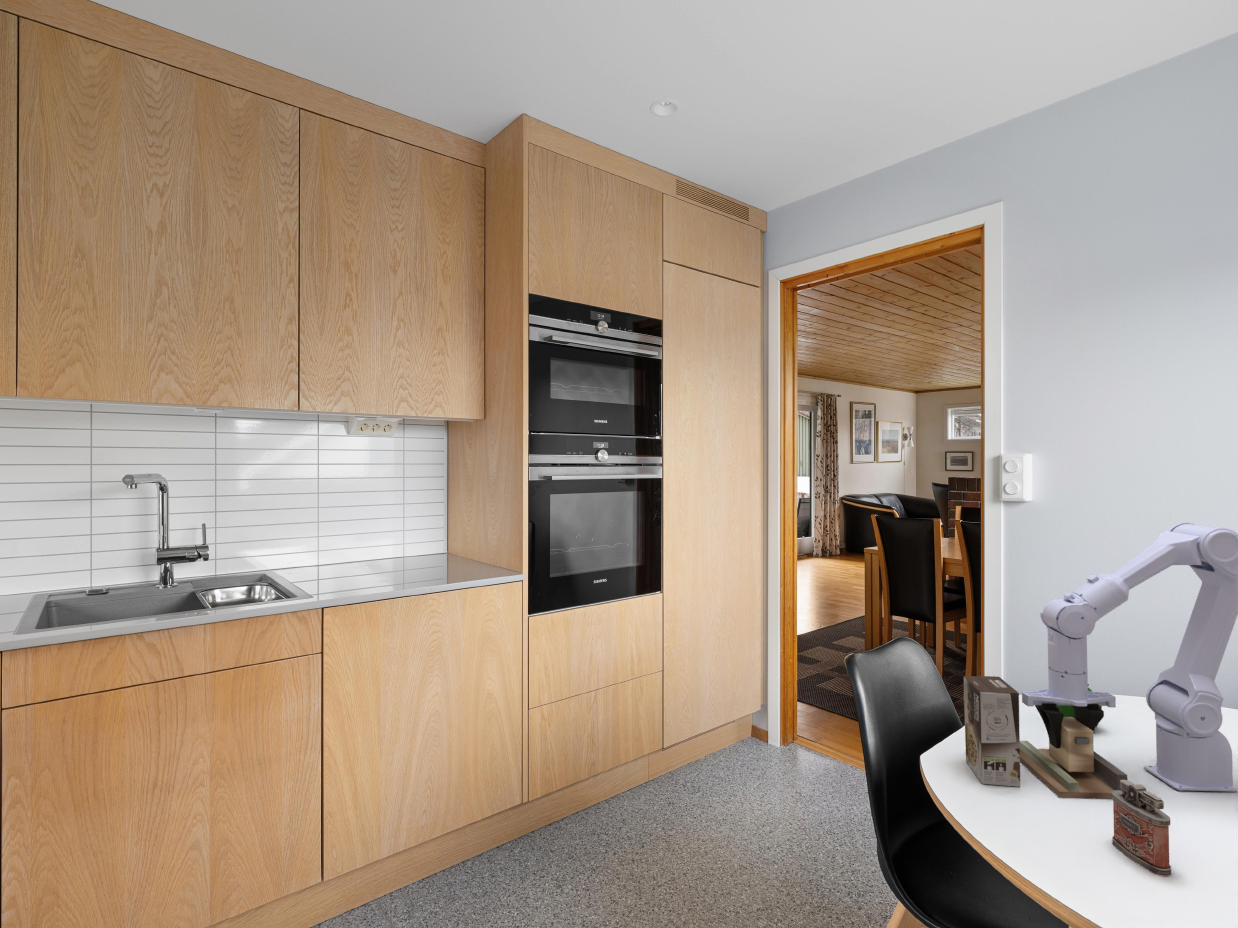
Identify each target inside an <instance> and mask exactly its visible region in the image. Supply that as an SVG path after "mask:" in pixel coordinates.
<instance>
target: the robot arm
mask: <svg viewBox="0 0 1238 928" xmlns="http://www.w3.org/2000/svg"><path fill="white" fill-rule="evenodd" d="M1172 566H1188V567H1190V568H1191V569H1192V571H1193V572H1194V573H1195V575H1196V576H1197V577H1198V578H1199V580H1200V581H1201V585H1200V588H1199V590H1198V594H1197V596H1196V600H1195V603H1194V605H1193V609H1192V611H1191V614H1190V617H1189V620H1188V623H1187V625H1186V629H1185V631H1184V634H1183V636H1182V639H1181V643H1180V645H1179V648H1178V651H1177V655H1176V658H1175V660H1174V663H1173V665H1172V666H1171V667H1169V668H1168V669H1165V670H1163V671H1161V672H1159V675H1158V678H1157V679H1156V681H1155V682H1154V683H1153V684H1152V685H1150V687H1149V688H1148V690H1147V692H1146V695H1145V700H1146V704H1147V706H1148V707H1149V709H1150V710H1151V711H1152V712H1153V713H1154V719H1155V732H1156V733H1155V737H1156V738H1155V739H1156V740H1155V741H1156V742H1155V743H1156V744H1155V745H1156V749H1155V750H1156V751H1155V752H1156V765H1144V766H1143V769H1145V770H1146V771H1148V772H1149V773H1151V775H1153V776H1155V777H1156V778H1158V779H1159V780H1161V781H1162V782H1164V783H1166V784H1167V785H1168V786H1170V788H1172V789H1174V790H1176V791H1191V792H1192V791H1193V792H1194V791H1196V792H1197V791H1199V792H1200V791H1201V792H1202V791H1203V792H1205V791H1206V792H1237V790H1238V788H1237V787H1235V786H1233V785H1234V783H1233V782H1234V781H1233V780H1234V779H1233V777H1234V775H1233V774H1234V773H1233V750H1232V747H1231V744H1230V742H1229V740H1228V738H1227V737H1226V736H1225V735H1224V733H1222V732H1221V731H1220V730H1219V729H1220V728H1221V727H1222V725H1223V713H1222V704H1223V701H1224V697H1223V695H1222V693H1221V691H1220V689H1219V688H1218V686H1217V683H1216V681H1215V680H1216V677H1217V674H1218V672H1219V670H1220V666H1221V663H1222V660H1223V658H1224V655H1225V652H1226V649H1227V646H1228V643H1229V640H1230V637H1231V636H1232V632H1233V629H1234V626H1235V625H1236V621H1237V617H1238V533H1237V532H1236V531H1234V530H1232V529H1230V528H1226V527H1215V526H1214V527H1213V526H1207V525H1200V524H1195V523H1191V522H1180V523H1176V524H1174V525H1173V526H1171V527H1170V528H1169V529H1168V530H1166V531H1164V532H1161V533H1160V534H1158V536H1157V538H1156V540H1155V541H1154V542H1153V543H1152V544H1150V545H1149V546H1147V547H1146V548H1144V549H1143V550H1142V551H1141V552H1140V553H1138V554H1137V555H1135V556H1134V557H1133V558H1132V559H1130V560H1129V561H1128V562H1126V563H1125V564H1123V565H1122V566H1121V567H1120V568H1118V569H1117V570H1115V571H1114V572H1113V573H1111V574H1109V573H1107V574H1106V573H1098V574H1095V575H1094V574H1091V575H1089V576H1088V577H1087V578H1086V580H1087V582H1085V583H1083V584H1082V585H1080V586H1079V587H1078V588H1076V589H1074V590H1073V591H1072V592H1069V591H1068V592H1066V593H1065V594H1063V598H1055V599H1052V600H1050V601H1048V602H1047V603H1046V604H1045V606H1044V609H1042V612H1040V613H1039V615H1040V619H1041V621H1042V623H1043V624H1044V625H1045V627H1046V628H1047V668H1048V672H1047V673H1048V677H1047V679H1048V680H1047V681H1048V688H1047V689H1039V690H1033V691H1032V690H1031V691H1021V702H1022V704H1024V705H1026V706H1027V707H1035V708H1036V710H1037V712H1038V713H1039V715H1040V717H1041V719H1042V722H1043V724H1044V727H1045V729H1046V733H1047V737H1048V742H1049V741H1050V744H1051V745H1053V746H1054V747H1055V748H1060V747H1061V726H1062V721H1063V717H1064V714H1063V713H1062V712H1060V711H1059V708H1057V705H1067V706H1073V708H1074V713H1075V718H1076V720H1077V721H1079V722H1080V723H1082V724H1083V725H1085V726H1086V727H1088V728H1089V729H1091V730H1092V731H1093V733H1094V732H1095V729H1096V728H1097V727H1098V725H1099V724H1100V722H1101V721H1102V720H1103V718H1105V711H1104V710H1103V709H1102V710H1101V709H1100V708H1099V706H1102V707H1107V708H1116V704H1117V703H1116V696H1115V695H1113V694H1111V693H1109V692H1102V691H1101V692H1099V691H1092V692H1091V691H1088V688H1089V686H1088V684H1089V682H1088V681H1089V680H1088V678H1089V677H1088V675H1089V674H1088V642H1087V641H1088V636H1089V635H1091V634H1092V632H1093V631H1094V629H1095V627H1096V623H1097V622H1098V621H1099V620H1100V619H1102V618H1103V617H1104V616H1106V615H1108V614H1109V613H1111V612H1112V611H1113V610H1115V609H1117V608H1118V607H1120V606H1122V604H1124V603H1126V602H1127V601H1128V600H1129V594H1130V590H1131V589H1133V588H1135V587H1137V586H1139V585H1141V584H1142V583H1144V582H1145V581H1147V580H1149V579H1151V578H1152V577H1154V576H1156V575H1158V574H1160V573H1162V572H1163V571H1165V570H1167V569H1168V568H1170V567H1172Z"/></svg>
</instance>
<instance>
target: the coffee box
mask: <svg viewBox="0 0 1238 928" xmlns="http://www.w3.org/2000/svg"><path fill="white" fill-rule="evenodd" d="M963 706H964V707H963V708H964V734H965V735H964V738H965V762H966V764H967V765H968V766H969V768H970V769H971V770H972V771H973V773H974V775H975V776H976V777H977V779H978V780H979V781H980V783H981V784H984V785H994V786H996V785H997V786H1005V787H1006V786H1007V787H1018V788H1019V787H1021V762H1020V741H1021V738H1020V693H1019V692H1018V690H1016V689H1015V688H1013V686H1011V685H1010V684H1009V683H1008V682H1006V681H1005V680H1004V679H1003V678H1001V676H993V675H992V676H990V675H989V676H988V675H976V676H975V675H973V676H970V675H968V676H967V675H963Z"/></svg>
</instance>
